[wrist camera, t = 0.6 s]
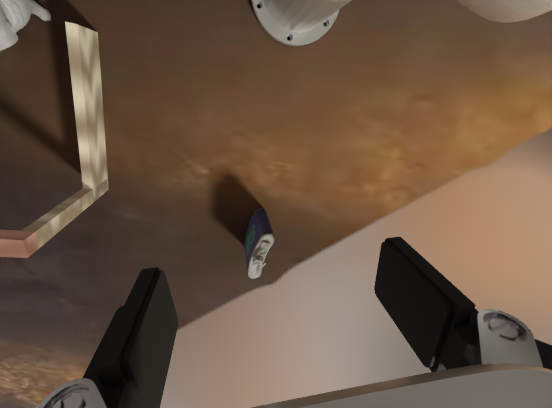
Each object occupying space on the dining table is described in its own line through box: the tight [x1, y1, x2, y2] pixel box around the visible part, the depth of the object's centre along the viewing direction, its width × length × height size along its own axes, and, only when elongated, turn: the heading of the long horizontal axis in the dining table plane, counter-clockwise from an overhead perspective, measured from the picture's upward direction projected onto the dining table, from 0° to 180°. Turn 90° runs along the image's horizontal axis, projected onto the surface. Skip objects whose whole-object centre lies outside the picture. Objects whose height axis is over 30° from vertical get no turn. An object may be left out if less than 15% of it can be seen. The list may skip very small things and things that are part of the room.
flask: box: [244, 208, 274, 278], centre depth 44 cm, size 9×3×11 cm, turn 161°
